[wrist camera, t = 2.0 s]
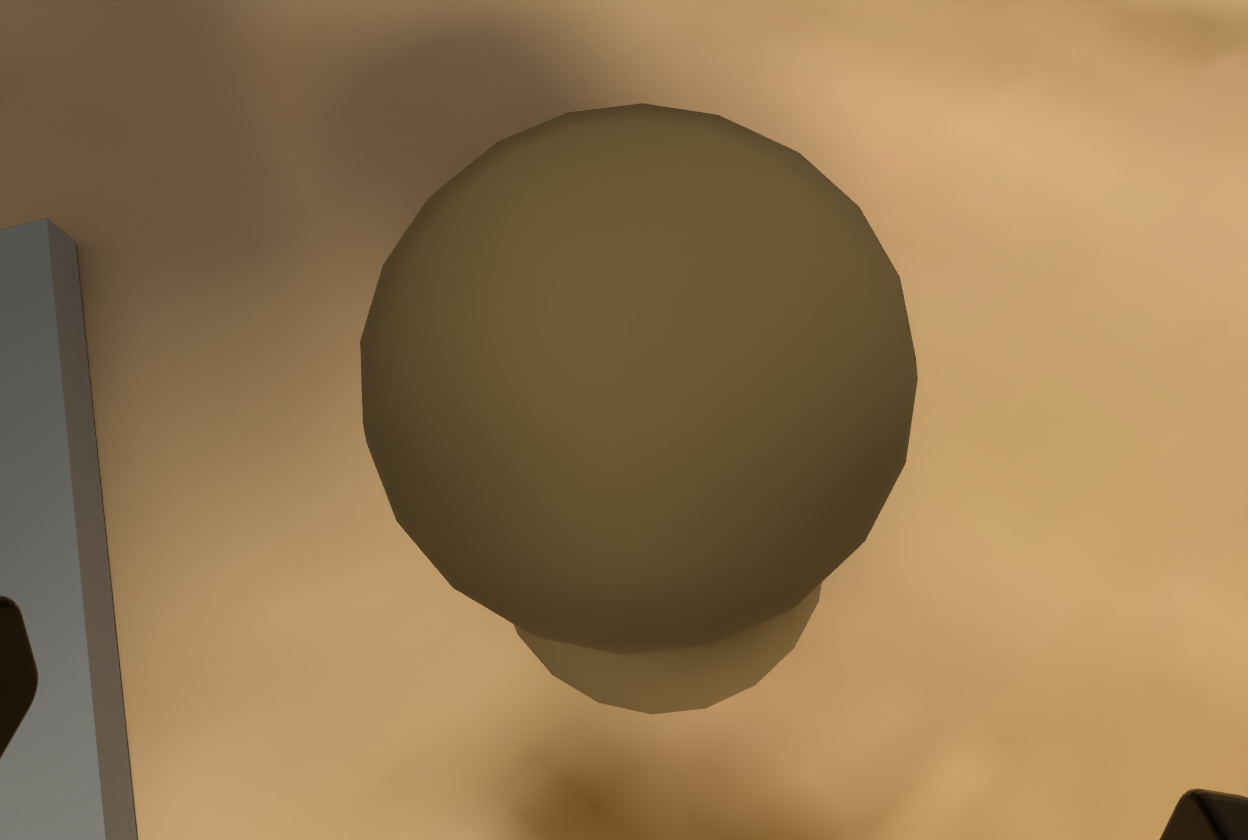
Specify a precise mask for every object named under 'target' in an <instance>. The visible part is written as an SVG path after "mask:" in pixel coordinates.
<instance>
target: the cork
mask: <svg viewBox="0 0 1248 840" xmlns="http://www.w3.org/2000/svg"><path fill="white" fill-rule="evenodd" d="M360 347H361V376H362V406H363V425H364V431H365V436H366V442H367V445H368V448H369V450H370V453H371V455H372V458H373V461H374V463H375V466H376V468H377V471H378V474H379V476H380V479H381V481H382V484H383V487H384V489H385V492H386V494H387V497H388V500H389V502H390V505H391V507H392V510H393V513H394V515H395V518H396V520H397V522H398V523H399V524H400V526H401V527H402V528H403V529H404V530H405V532H406V533H407V534H408V535H409V536H410V537H411V539H412V540H413V541H414V542H415V543H416V545H417V546H418V547H419V548H420V549H421V550H422V552H423V553H424V554H425V555H426V556H427V558H428V559H429V560H430V561H431V562H432V563H433V565H434V566H435V567H436V568H437V569H438V571H439V572H440V573H441V574H442V575H443V577H444V578H445V579H446V580H447V581H448V582H449V584H450V585H451V586H452V587H453V588H454V589H456V590H458V591H459V592H461V593H463V594H464V595H466V596H468V597H469V598H471V599H473V600H475V601H476V602H478V603H480V604H481V605H483V606H485V607H486V608H488V609H490V610H491V611H493V612H495V613H496V614H498V615H500V616H501V617H503V618H505V619H506V620H508V621H510V622H511V623H513V624H514V626H515V628H516V631H517V633H518V635H519V636H520V637H521V639H522V640H523V641H524V642H525V643H526V644H527V646H528V647H529V648H530V649H531V650H532V651H533V653H534V654H535V655H536V656H537V657H538V658H539V660H540V661H541V662H542V663H543V664H544V666H545V667H546V668H547V669H548V670H549V671H550V673H551V674H552V675H554V676H555V677H557V678H559V679H560V680H562V681H564V682H565V683H567V684H569V685H570V686H572V687H574V688H575V689H577V690H579V691H580V692H582V693H584V694H585V695H587V696H589V697H590V698H592V699H594V700H595V701H597V702H599V703H603V704H608V705H612V706H617V707H621V708H626V709H630V710H635V711H639V712H644V713H648V714H658V713H667V712H676V711H685V710H694V709H703V708H707V707H709V706H712V705H714V704H716V703H718V702H720V701H722V700H724V699H727V698H729V697H731V696H733V695H735V694H737V693H739V692H742V691H744V690H746V689H748V688H750V687H752V686H754V685H756V684H757V683H758V682H759V681H760V680H761V679H762V678H763V677H764V676H765V675H766V674H767V673H768V672H769V671H770V670H771V669H773V668H774V667H775V666H776V665H777V664H778V663H779V662H780V661H781V660H782V659H783V658H784V657H785V656H786V655H787V654H788V653H789V652H790V651H791V650H792V649H793V648H794V647H795V645H796V643H797V641H798V639H799V637H800V636H801V634H802V632H803V630H804V628H805V626H806V624H807V622H808V620H809V618H810V616H811V614H812V613H813V611H814V609H815V607H816V605H817V603H818V601H819V596H820V589H821V583H822V581H823V580H824V579H826V578H827V577H828V576H829V575H830V574H831V573H832V572H833V571H834V570H835V569H836V568H837V567H838V566H839V565H840V564H841V563H842V562H843V561H844V560H846V559H847V558H848V557H849V556H850V555H851V554H852V553H853V552H854V551H855V550H856V549H857V548H858V547H859V546H860V545H861V544H862V543H863V542H865V540H866V538H867V536H868V534H869V532H870V530H871V529H872V527H873V525H874V523H875V521H876V519H877V517H878V515H879V513H880V511H881V509H882V507H883V505H884V504H885V502H886V500H887V498H888V496H889V494H890V492H891V490H892V488H893V486H894V484H895V482H896V480H897V479H898V477H899V475H900V473H901V471H902V469H903V467H904V465H905V463H906V457H907V450H908V443H909V435H910V428H911V421H912V414H913V407H914V400H915V393H916V386H917V379H918V378H917V366H916V357H915V352H914V347H913V342H912V337H911V331H910V326H909V321H908V316H907V311H906V306H905V301H904V296H903V291H902V286H901V281H900V277H899V275H898V273H897V272H896V270H895V268H894V266H893V265H892V263H891V261H890V259H889V258H888V256H887V254H886V252H885V251H884V249H883V247H882V246H881V244H880V242H879V240H878V239H877V237H876V235H875V233H874V232H873V230H872V228H871V227H870V225H869V223H868V221H867V220H866V218H865V216H864V214H863V213H862V211H861V209H860V207H859V206H858V205H857V204H855V203H854V202H853V201H852V200H851V199H850V198H849V197H848V196H847V195H845V194H844V193H843V192H842V191H841V190H840V189H839V188H838V187H837V186H835V185H834V184H833V183H832V182H831V181H830V180H829V179H828V178H827V177H825V176H824V175H823V174H822V173H821V172H820V171H819V170H818V169H817V168H815V167H814V166H813V165H812V164H811V163H810V162H809V161H808V160H807V159H805V158H804V157H803V156H802V155H801V154H800V153H798V152H796V151H794V150H792V149H790V148H788V147H786V146H783V145H781V144H779V143H777V142H775V141H773V140H771V139H768V138H766V137H764V136H762V135H760V134H758V133H756V132H753V131H751V130H749V129H747V128H745V127H743V126H741V125H738V124H736V123H734V122H732V121H730V120H728V119H726V118H723V117H721V116H719V115H714V114H708V113H701V112H695V111H688V110H682V109H675V108H669V107H662V106H656V105H649V104H635V105H627V106H619V107H610V108H602V109H594V110H586V111H578V112H570V113H566V114H563V115H561V116H559V117H556V118H554V119H552V120H549V121H547V122H544V123H542V124H540V125H537V126H535V127H532V128H530V129H528V130H525V131H523V132H521V133H518V134H516V135H513V136H511V137H509V138H506V139H504V140H501V141H499V142H497V143H496V144H495V145H493V146H492V147H491V148H490V149H489V150H487V151H486V152H485V153H484V154H482V155H481V156H480V157H479V158H477V159H476V160H475V161H474V162H472V163H471V164H470V165H469V166H467V167H466V168H465V169H464V170H462V171H461V172H460V173H459V174H458V175H456V176H455V177H454V178H453V179H451V180H450V181H449V182H448V183H446V184H445V185H444V186H443V187H441V188H440V189H439V190H438V191H436V192H435V193H434V194H433V195H432V196H430V197H429V198H428V200H427V201H426V203H425V204H424V205H423V207H422V208H421V210H420V211H419V213H418V214H417V216H416V217H415V219H414V220H413V222H412V223H411V225H410V226H409V227H408V229H407V230H406V232H405V233H404V235H403V236H402V238H401V239H400V241H399V242H398V244H397V245H396V246H395V248H394V249H393V251H392V252H391V254H390V255H389V257H388V258H387V260H386V261H385V263H384V264H383V267H382V270H381V274H380V277H379V281H378V284H377V287H376V291H375V294H374V297H373V301H372V304H371V307H370V311H369V314H368V317H367V321H366V324H365V327H364V331H363V334H362V337H361V341H360Z"/></svg>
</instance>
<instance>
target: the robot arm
mask: <svg viewBox="0 0 1248 840" xmlns="http://www.w3.org/2000/svg"><path fill="white" fill-rule="evenodd" d="M37 686H38V670H37V666H36V662H35V659H34V655H33V651H32V648H31V644H30V641H29V637H28V634H27V630H26V626H25V623H24V619H23V616H22V612H21V610H20V608H19V606H18V605H17V604H16V603H15V602H14V601H13V600H12V599H10V598H8V597H5V596H0V759H1V757H2V755H3V754H4V752H5V750H6V748H7V747H8V745H9V743H10V742H11V740H12V738H13V736H14V735H15V733H16V731H17V729H18V728H19V726H20V724H21V722H22V721H23V719H24V717H25V715H26V714H27V712H28V710H29V709H30V707H31V705H32V702H33V700H34V697H35V695H36V691H37ZM1160 840H1248V798H1247V797H1244V796H1241V795H1235V794H1229V793H1223V792H1217V791H1210V790H1204V789H1191V790H1189V791H1187V792H1186V793H1185V794H1183V795H1182V797H1181V798H1180V800H1179V801H1178V803H1177V805H1176V807H1175V809H1174V811H1173V813H1172V815H1171V817H1170V819H1169V821H1168V824H1167V826H1166V828H1165V830H1164V832H1163V834H1162V836H1161V838H1160Z"/></svg>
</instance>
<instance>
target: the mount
mask: <svg viewBox="0 0 1248 840" xmlns="http://www.w3.org/2000/svg"><path fill="white" fill-rule="evenodd" d="M0 596H5V597H8V598H10V599H12V600H13V601H14V602H15V603H16V604H17V605H18V606H19V608H20V610H21V612H22V616H23V619H24V623H25V626H26V630H27V634H28V637H29V641H30V644H31V648H32V651H33V655H34V659H35V662H36V666H37V670H38V686H37V691H36V695H35V697H34V700H33V702H32V705H31V707H30V709H29V710H28V712H27V714H26V715H25V717H24V719H23V721H22V722H21V724H20V726H19V728H18V729H17V731H16V733H15V735H14V736H13V738H12V740H11V742H10V743H9V745H8V747H7V748H6V750H5V752H4V754H3V755H2V757H1V759H0V840H137V833H136V823H135V814H134V804H133V794H132V785H131V775H130V765H129V756H128V746H127V736H126V726H125V717H124V707H123V697H122V688H121V678H120V668H119V659H118V649H117V639H116V630H115V620H114V610H113V600H112V591H111V581H110V571H109V562H108V552H107V542H106V533H105V523H104V513H103V504H102V494H101V484H100V475H99V465H98V455H97V445H96V436H95V426H94V416H93V407H92V397H91V387H90V378H89V368H88V358H87V349H86V339H85V329H84V319H83V310H82V300H81V290H80V281H79V271H78V261H77V252H76V242H75V240H74V239H72V238H71V237H70V236H68V235H67V234H66V233H65V232H63V231H62V230H61V229H60V228H58V227H57V226H56V225H55V224H53V223H52V222H51V221H50V220H48V219H47V218H45V219H41V220H37V221H33V222H29V223H25V224H21V225H17V226H13V227H9V228H5V229H1V230H0Z"/></svg>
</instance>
